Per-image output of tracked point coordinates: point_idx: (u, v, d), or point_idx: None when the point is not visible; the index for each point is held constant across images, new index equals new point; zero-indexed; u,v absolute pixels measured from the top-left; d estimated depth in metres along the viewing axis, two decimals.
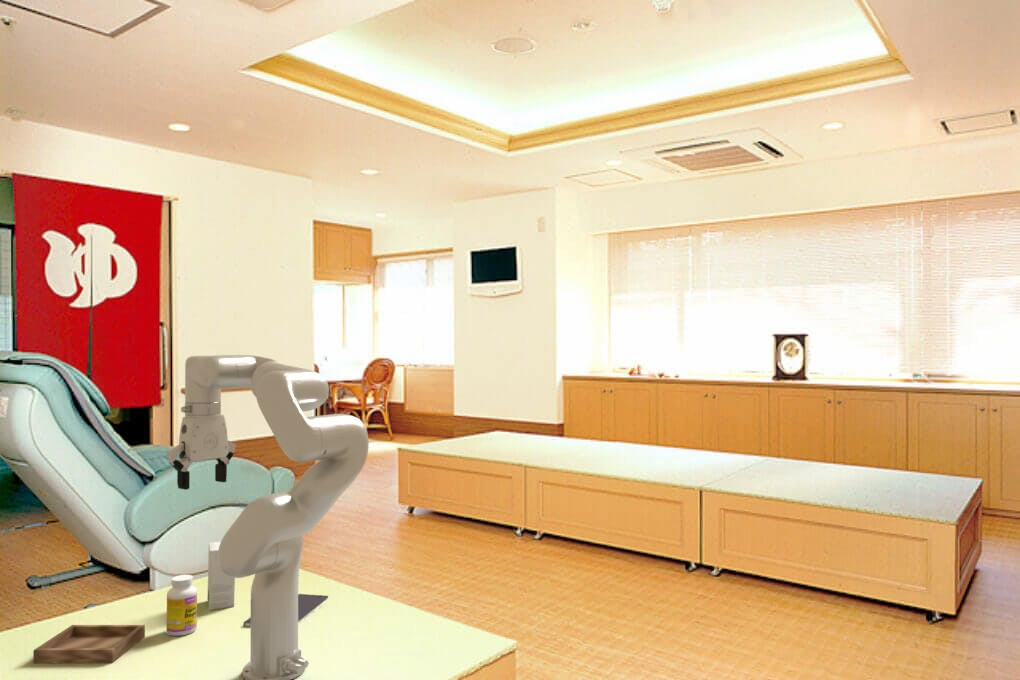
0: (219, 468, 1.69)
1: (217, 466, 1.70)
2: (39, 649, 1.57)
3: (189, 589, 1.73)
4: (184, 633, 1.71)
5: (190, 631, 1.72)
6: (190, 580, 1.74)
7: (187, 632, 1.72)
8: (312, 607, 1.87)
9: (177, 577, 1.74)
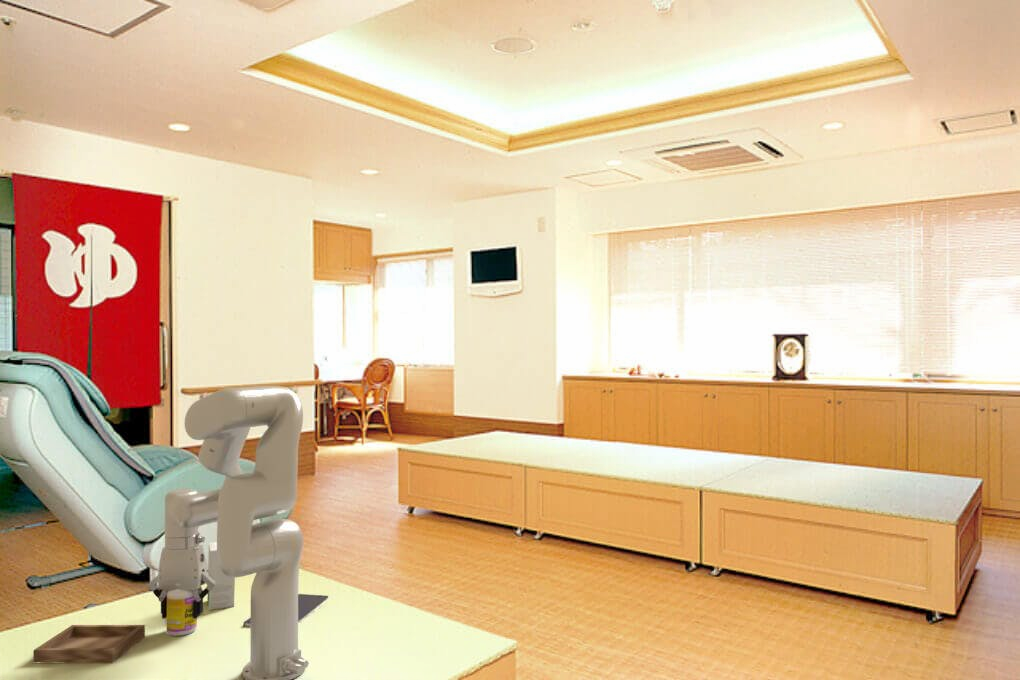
0: None
1: (166, 602, 1.73)
2: (39, 649, 1.57)
3: None
4: (184, 633, 1.71)
5: (190, 631, 1.72)
6: None
7: (187, 632, 1.72)
8: (312, 607, 1.87)
9: None
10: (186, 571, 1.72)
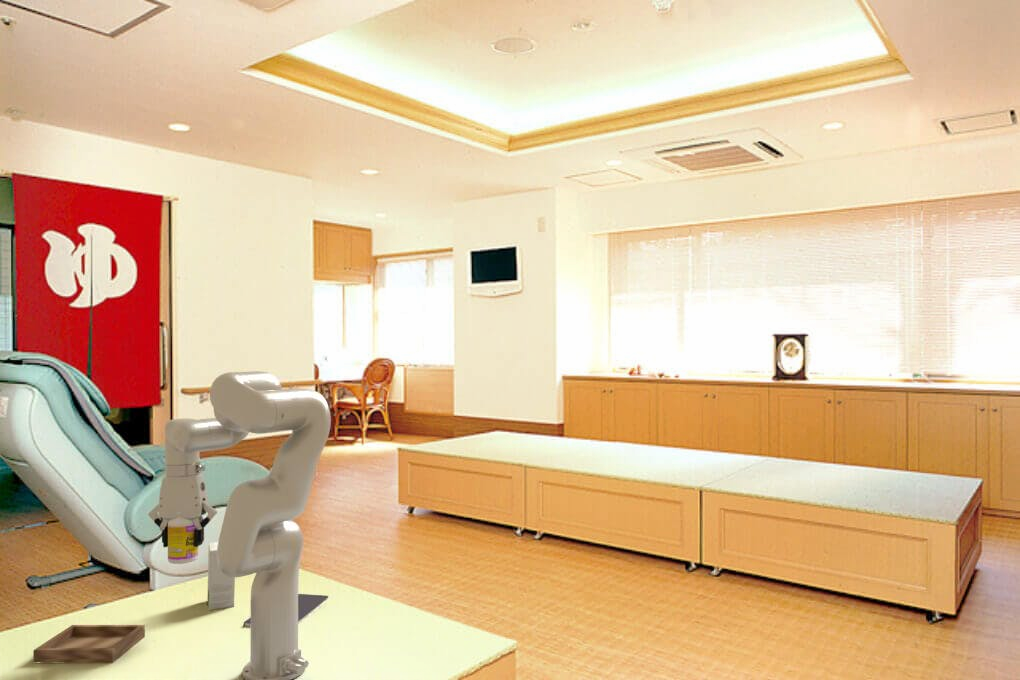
0: None
1: (167, 531, 1.73)
2: (39, 649, 1.57)
3: None
4: (185, 561, 1.71)
5: (191, 559, 1.72)
6: None
7: (188, 560, 1.72)
8: (312, 607, 1.87)
9: None
10: (187, 499, 1.72)
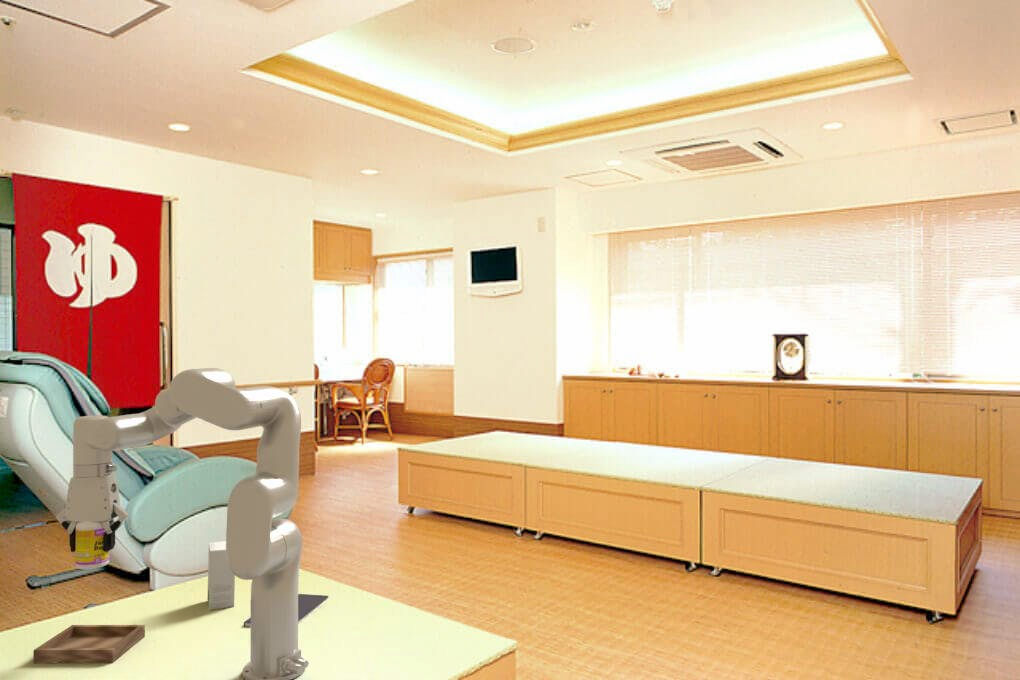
0: None
1: None
2: (39, 649, 1.57)
3: None
4: (93, 566, 1.61)
5: (100, 565, 1.62)
6: None
7: (97, 566, 1.62)
8: (312, 607, 1.87)
9: None
10: (95, 501, 1.62)
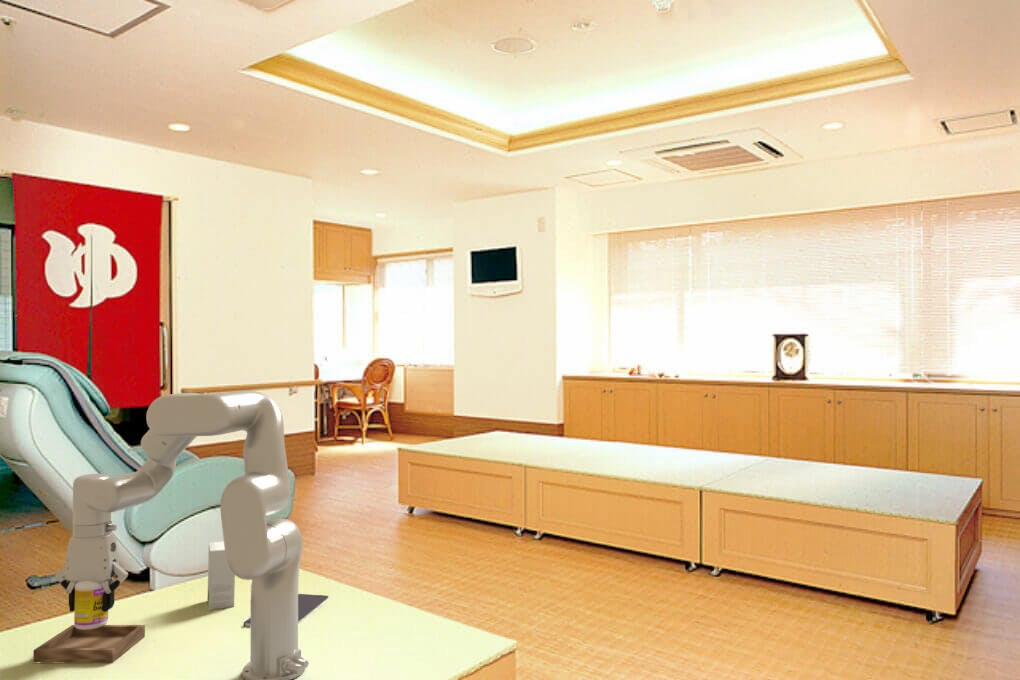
0: None
1: None
2: (39, 649, 1.57)
3: None
4: (92, 627, 1.61)
5: (99, 625, 1.62)
6: None
7: (96, 626, 1.62)
8: (312, 607, 1.87)
9: None
10: (95, 561, 1.61)
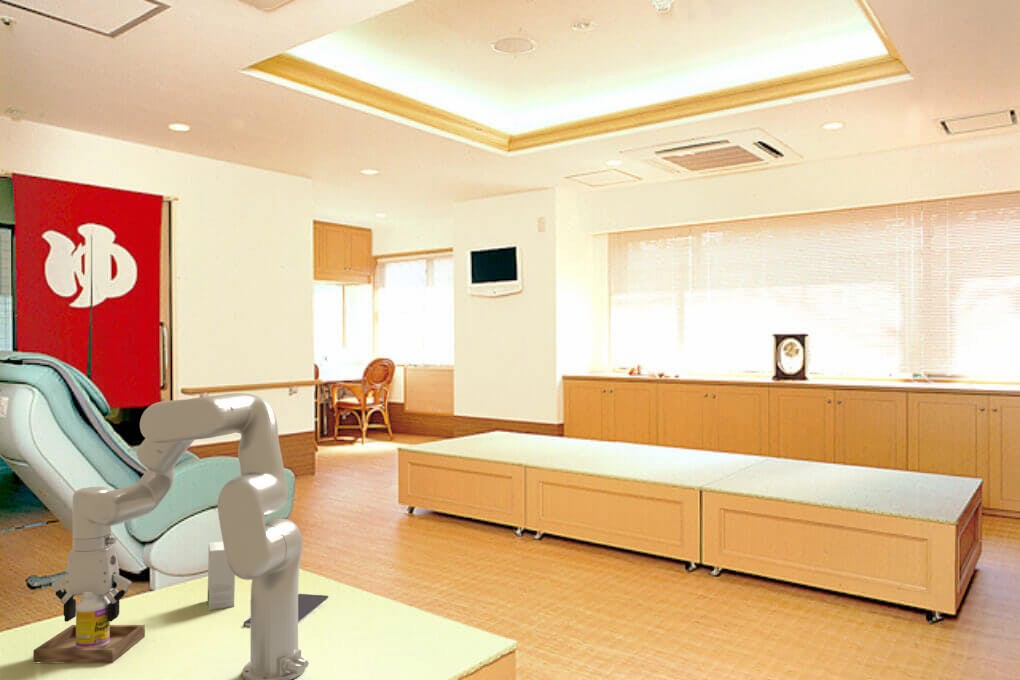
0: (72, 605, 1.64)
1: (70, 604, 1.63)
2: (39, 649, 1.57)
3: (100, 600, 1.63)
4: None
5: (101, 645, 1.62)
6: None
7: (97, 647, 1.61)
8: (312, 607, 1.87)
9: None
10: (95, 574, 1.61)
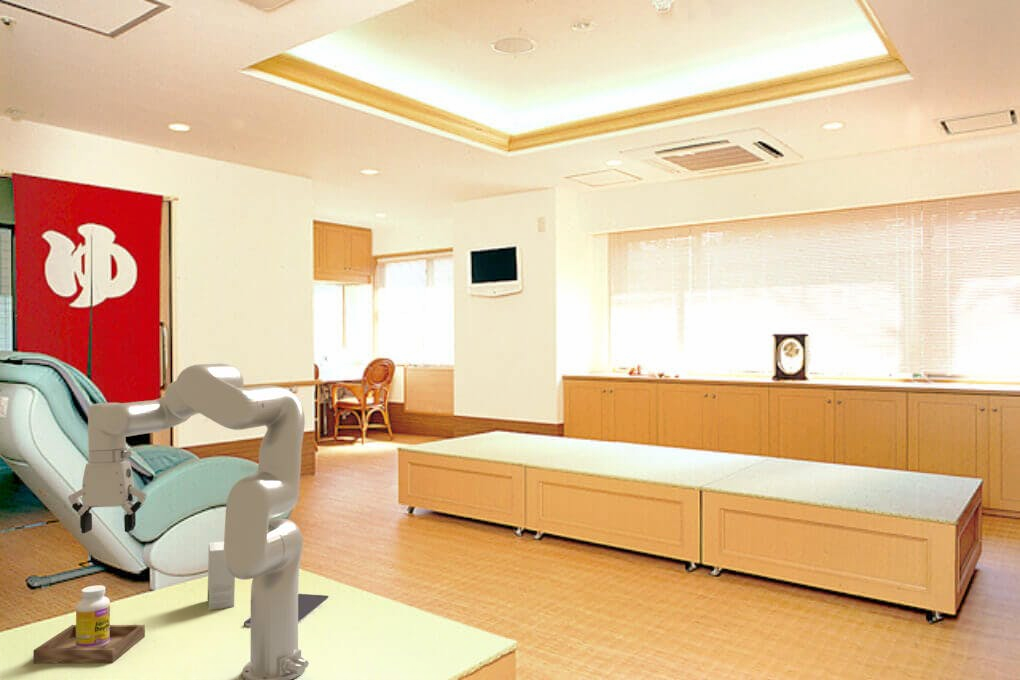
0: (88, 518, 1.67)
1: (86, 516, 1.66)
2: (39, 649, 1.57)
3: (100, 600, 1.63)
4: None
5: (101, 645, 1.62)
6: (101, 591, 1.63)
7: (97, 647, 1.61)
8: (312, 607, 1.87)
9: (88, 588, 1.64)
10: (111, 486, 1.65)
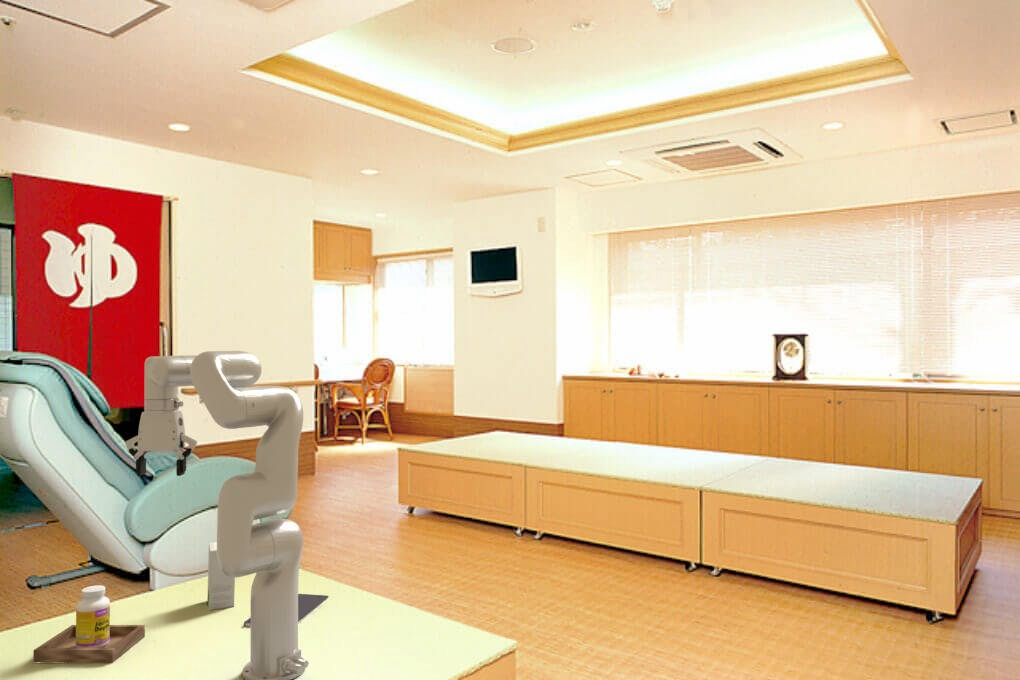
0: (143, 462, 1.80)
1: (141, 461, 1.80)
2: (39, 649, 1.57)
3: (100, 600, 1.63)
4: None
5: (101, 645, 1.62)
6: (101, 591, 1.63)
7: (97, 647, 1.61)
8: (312, 607, 1.87)
9: (88, 588, 1.64)
10: (165, 432, 1.78)
